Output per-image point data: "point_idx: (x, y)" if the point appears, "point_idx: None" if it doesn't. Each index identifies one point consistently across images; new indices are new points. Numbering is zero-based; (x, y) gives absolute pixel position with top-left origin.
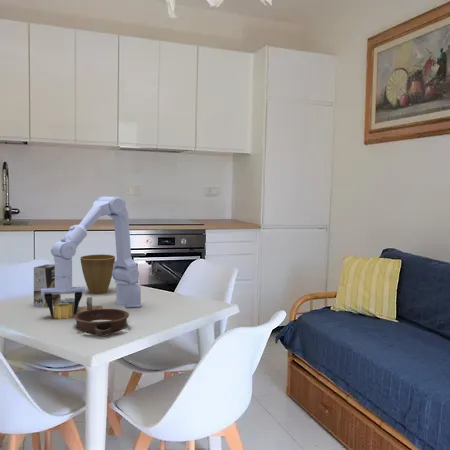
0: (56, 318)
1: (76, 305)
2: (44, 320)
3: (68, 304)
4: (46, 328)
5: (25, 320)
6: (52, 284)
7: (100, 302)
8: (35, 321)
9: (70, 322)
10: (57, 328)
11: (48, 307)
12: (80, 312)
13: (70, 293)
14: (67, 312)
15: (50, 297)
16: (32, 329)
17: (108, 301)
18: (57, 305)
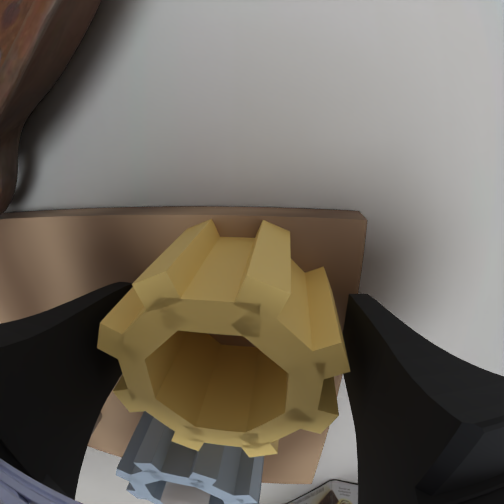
0: (311, 246)
1: (54, 312)
2: (400, 311)
3: (159, 398)
4: (394, 38)
5: (498, 333)
6: None
7: (108, 486)
8: (461, 297)
9: (179, 184)
10: (296, 7)
11: (329, 493)
12: (19, 44)
13: (52, 492)
14: (176, 246)
15: (497, 425)
16: (489, 63)
17: (86, 481)
18: (300, 390)
